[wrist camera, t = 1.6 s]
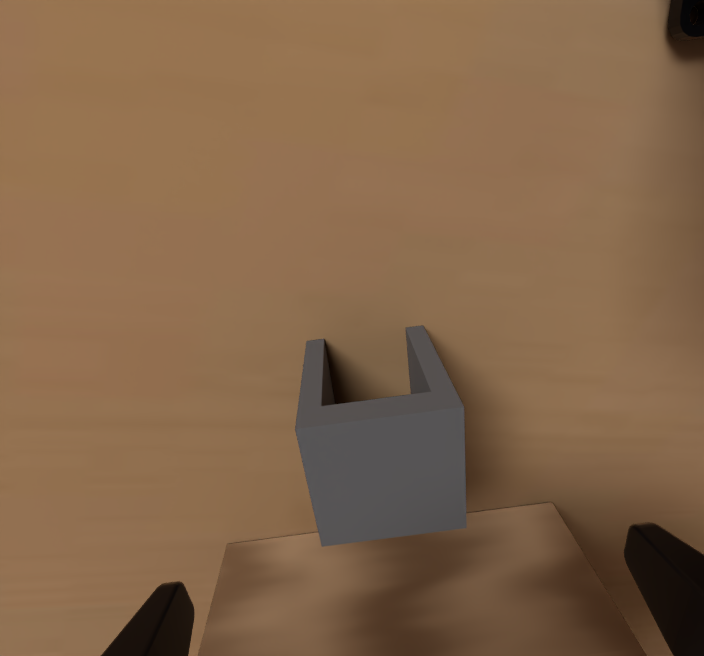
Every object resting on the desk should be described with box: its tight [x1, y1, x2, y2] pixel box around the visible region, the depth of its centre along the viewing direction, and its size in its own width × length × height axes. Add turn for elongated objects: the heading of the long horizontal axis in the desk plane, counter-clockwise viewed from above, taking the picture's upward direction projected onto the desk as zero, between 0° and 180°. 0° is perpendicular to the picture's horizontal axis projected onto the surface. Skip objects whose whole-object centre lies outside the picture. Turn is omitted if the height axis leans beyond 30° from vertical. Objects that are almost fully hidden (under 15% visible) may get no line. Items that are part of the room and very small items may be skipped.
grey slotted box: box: [295, 326, 467, 547], centre depth 13 cm, size 4×4×5 cm
